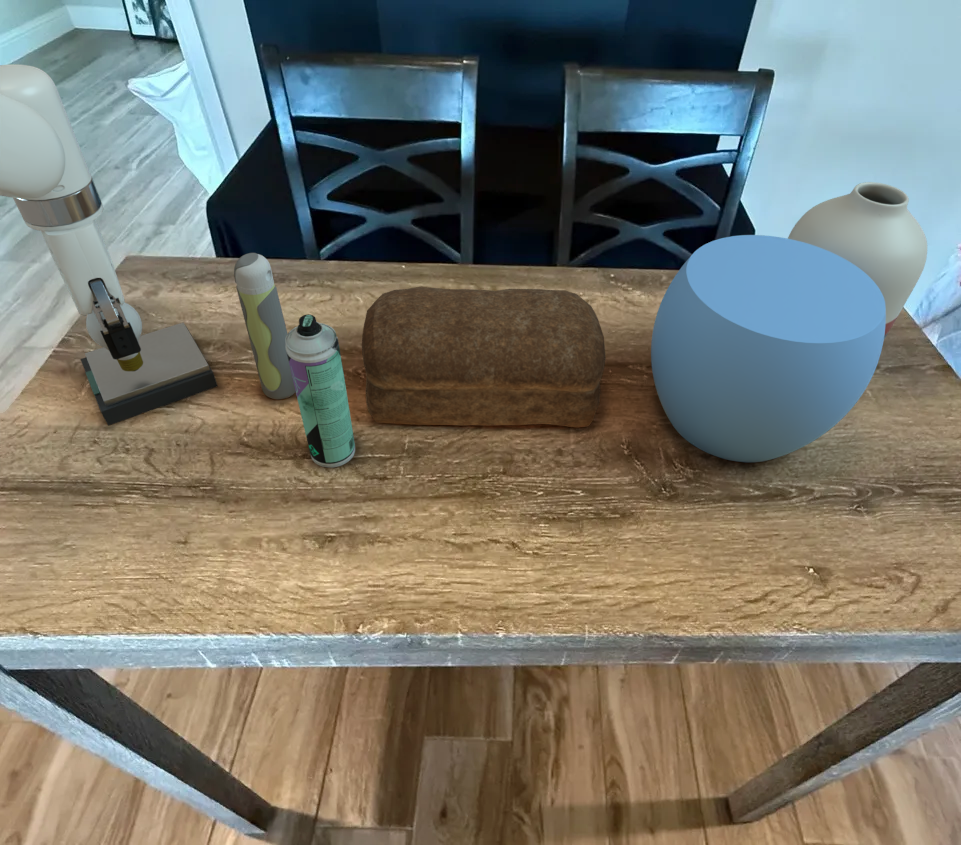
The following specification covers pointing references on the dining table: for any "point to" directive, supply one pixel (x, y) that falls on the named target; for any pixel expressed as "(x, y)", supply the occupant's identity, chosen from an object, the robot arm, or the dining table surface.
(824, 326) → the blue rounded pouf
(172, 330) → the scale
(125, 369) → the light bulb
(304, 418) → the spray can
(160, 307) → the dining table surface
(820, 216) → the vase
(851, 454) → the dining table surface
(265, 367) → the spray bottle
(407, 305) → the bread
